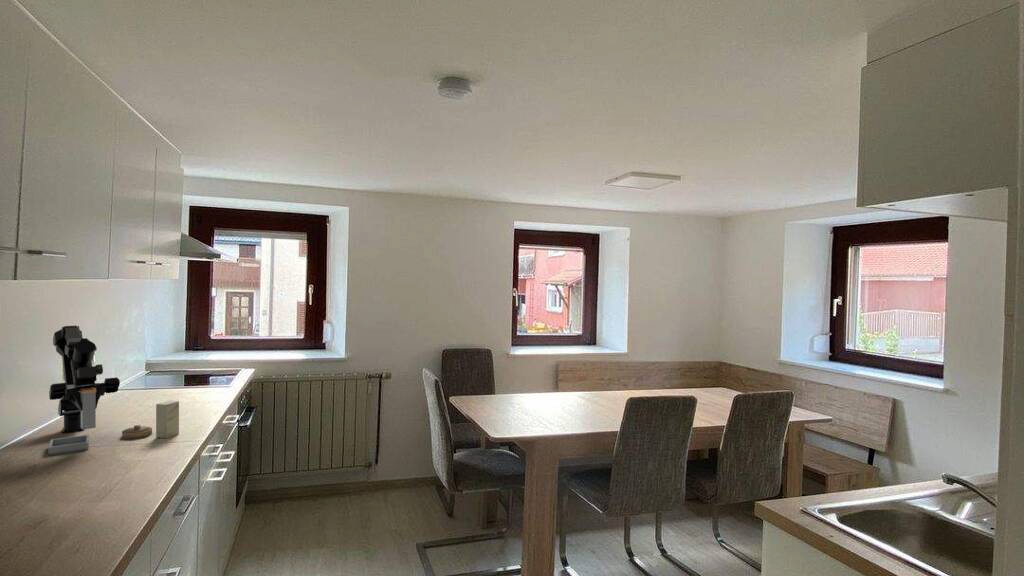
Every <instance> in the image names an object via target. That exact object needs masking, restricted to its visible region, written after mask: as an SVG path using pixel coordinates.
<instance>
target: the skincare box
mask: <svg viewBox="0 0 1024 576" xmlns="http://www.w3.org/2000/svg"><path fill="white" fill-rule="evenodd" d="M155 411H156V412H155V430H156V431H155V437H156V438H159V437H160V438H161V439H167V438H170V437H174V436H176V435H179V434H180V401H179V400H166V401H163V402H159V403H155ZM160 438H159V439H160Z"/></svg>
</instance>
